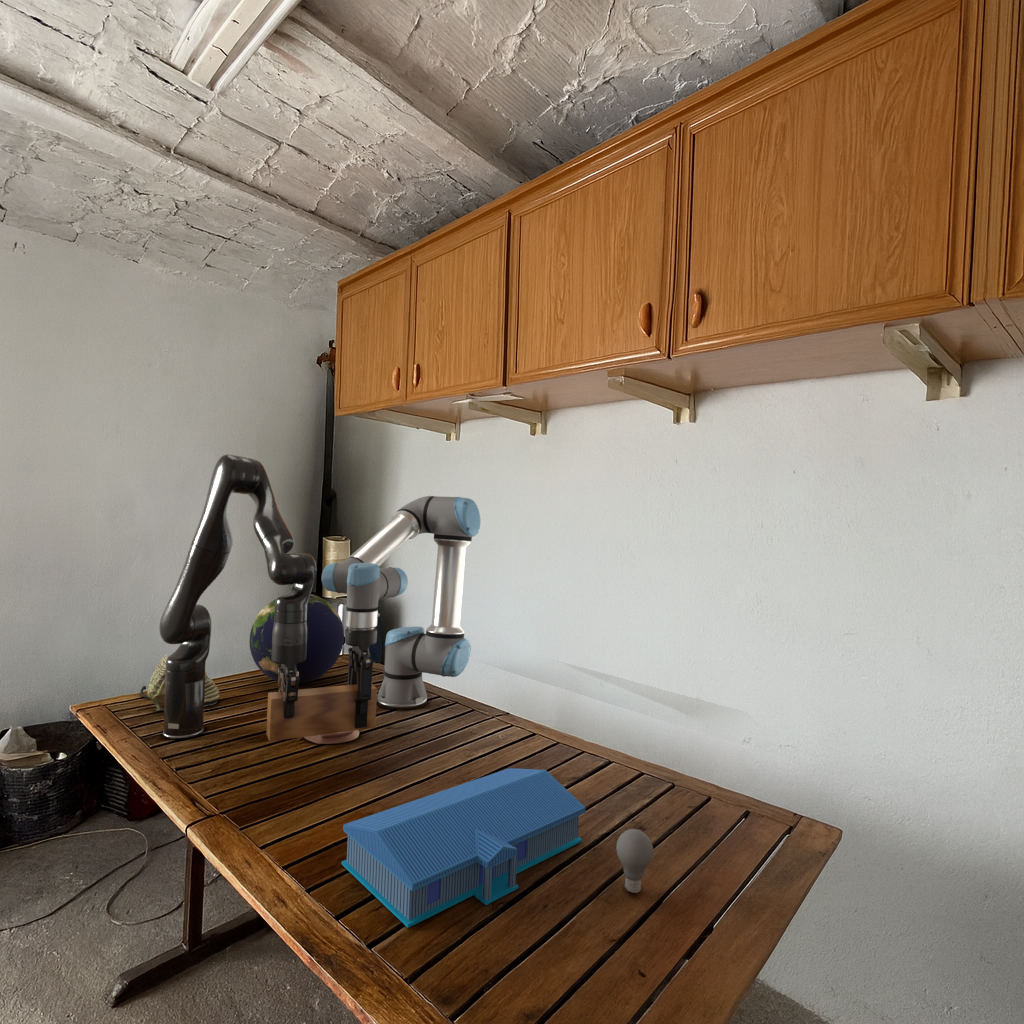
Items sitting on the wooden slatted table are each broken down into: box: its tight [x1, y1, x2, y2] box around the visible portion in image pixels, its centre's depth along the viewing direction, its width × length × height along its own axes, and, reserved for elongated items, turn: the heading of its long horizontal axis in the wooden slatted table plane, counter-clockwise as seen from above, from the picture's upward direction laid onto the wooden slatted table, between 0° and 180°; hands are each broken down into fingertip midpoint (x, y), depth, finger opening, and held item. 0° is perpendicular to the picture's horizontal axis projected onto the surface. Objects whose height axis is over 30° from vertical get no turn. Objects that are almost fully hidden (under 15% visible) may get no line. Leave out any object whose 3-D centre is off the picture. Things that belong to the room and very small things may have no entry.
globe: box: [248, 593, 345, 685], centre depth 212 cm, size 30×30×30 cm
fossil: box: [146, 654, 221, 712], centre depth 185 cm, size 9×18×15 cm, turn 132°
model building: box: [341, 767, 586, 929], centre depth 114 cm, size 39×24×10 cm, turn 132°
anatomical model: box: [303, 730, 360, 745], centre depth 167 cm, size 13×4×12 cm
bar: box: [265, 683, 378, 742], centre depth 149 cm, size 24×5×10 cm, turn 119°
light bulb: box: [615, 828, 654, 894], centre depth 106 cm, size 6×6×10 cm
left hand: (286, 713), depth 145 cm, fingers closed on bar, 5 cm apart
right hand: (357, 723), depth 153 cm, fingers closed on bar, 5 cm apart
